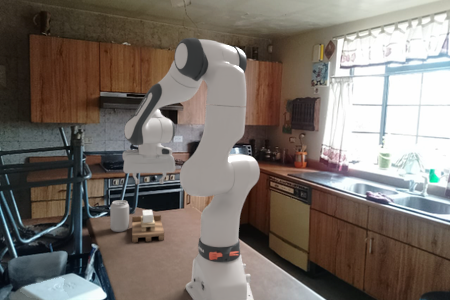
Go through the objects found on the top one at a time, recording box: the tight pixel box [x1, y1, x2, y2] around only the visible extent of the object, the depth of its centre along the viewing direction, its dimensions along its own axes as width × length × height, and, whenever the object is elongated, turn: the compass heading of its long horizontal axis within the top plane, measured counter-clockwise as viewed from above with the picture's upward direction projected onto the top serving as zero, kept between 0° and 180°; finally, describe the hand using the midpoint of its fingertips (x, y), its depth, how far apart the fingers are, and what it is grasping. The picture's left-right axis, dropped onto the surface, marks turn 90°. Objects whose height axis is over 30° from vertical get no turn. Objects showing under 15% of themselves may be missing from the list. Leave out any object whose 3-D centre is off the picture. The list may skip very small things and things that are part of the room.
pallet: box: [140, 215, 155, 232], centre depth 135 cm, size 10×5×3 cm, turn 16°
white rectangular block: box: [142, 209, 154, 223], centre depth 135 cm, size 7×4×3 cm, turn 16°
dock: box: [131, 214, 165, 243], centre depth 135 cm, size 16×12×5 cm
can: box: [109, 199, 130, 233], centre depth 139 cm, size 8×8×12 cm
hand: (149, 183), depth 133 cm, fingers open, 8 cm apart
